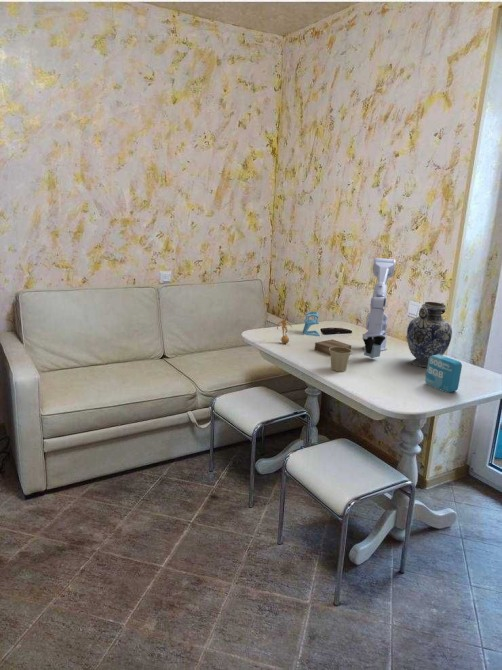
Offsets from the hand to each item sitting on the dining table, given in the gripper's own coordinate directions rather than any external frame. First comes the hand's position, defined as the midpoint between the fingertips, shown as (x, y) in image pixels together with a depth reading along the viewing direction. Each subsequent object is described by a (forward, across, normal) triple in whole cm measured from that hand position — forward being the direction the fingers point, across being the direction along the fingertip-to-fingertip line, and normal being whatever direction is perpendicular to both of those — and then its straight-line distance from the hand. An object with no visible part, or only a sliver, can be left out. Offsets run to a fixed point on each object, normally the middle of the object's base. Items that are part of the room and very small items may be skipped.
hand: (372, 352), depth 217 cm
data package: (+4, -5, -37) cm, 38 cm away
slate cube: (+2, 0, 0) cm, 2 cm away
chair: (+4, +8, +46) cm, 47 cm away
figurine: (+4, -17, +40) cm, 44 cm away
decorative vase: (+4, +16, -17) cm, 24 cm away
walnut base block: (+4, -6, +18) cm, 19 cm away
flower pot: (+4, -24, -1) cm, 24 cm away
